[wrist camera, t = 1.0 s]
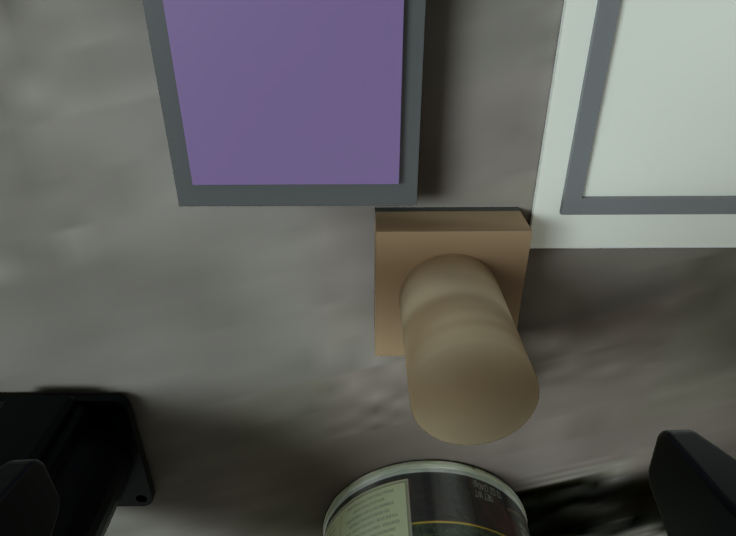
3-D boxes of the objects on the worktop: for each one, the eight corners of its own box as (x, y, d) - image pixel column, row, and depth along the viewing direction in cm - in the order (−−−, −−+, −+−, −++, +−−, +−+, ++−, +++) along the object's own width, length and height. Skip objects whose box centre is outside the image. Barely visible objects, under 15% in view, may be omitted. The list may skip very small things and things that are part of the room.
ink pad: (413, 189, 19) (417, 207, 18) (190, 189, 19) (177, 208, 18) (427, -160, 15) (434, -172, 13) (133, -160, 14) (108, -171, 13)
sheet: (828, 244, 20) (836, 249, 20) (526, 245, 20) (529, 250, 20) (1013, -169, 15) (1029, -172, 14) (590, -169, 14) (596, -172, 14)
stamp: (500, 323, 22) (553, 464, 16) (374, 324, 22) (378, 465, 16) (517, 206, 20) (587, 320, 14) (374, 206, 20) (380, 321, 14)
